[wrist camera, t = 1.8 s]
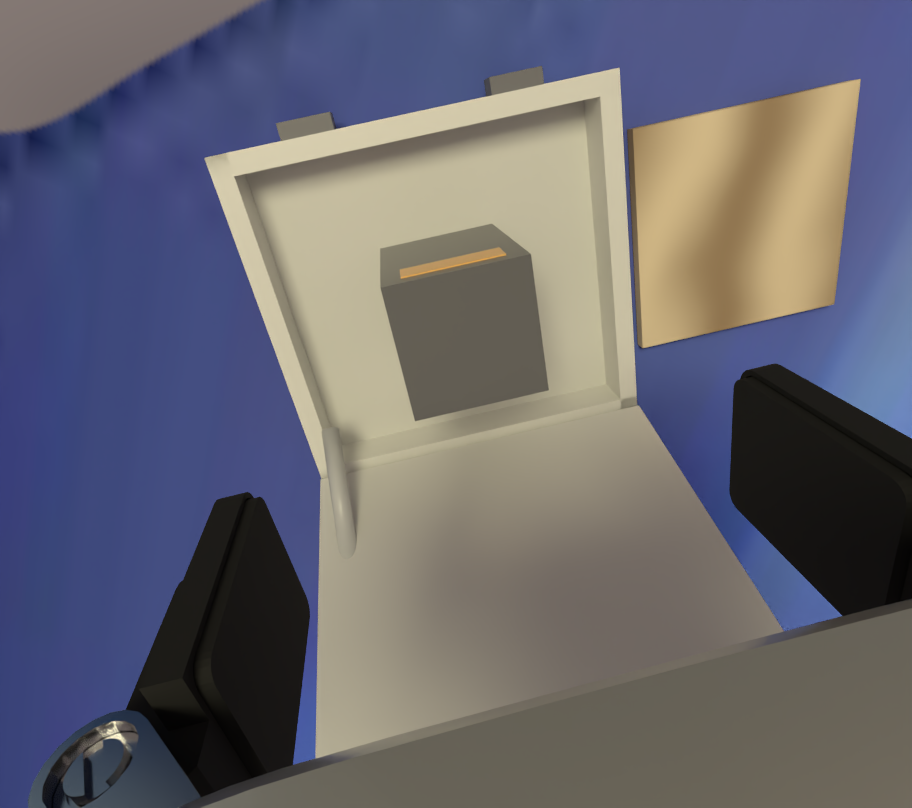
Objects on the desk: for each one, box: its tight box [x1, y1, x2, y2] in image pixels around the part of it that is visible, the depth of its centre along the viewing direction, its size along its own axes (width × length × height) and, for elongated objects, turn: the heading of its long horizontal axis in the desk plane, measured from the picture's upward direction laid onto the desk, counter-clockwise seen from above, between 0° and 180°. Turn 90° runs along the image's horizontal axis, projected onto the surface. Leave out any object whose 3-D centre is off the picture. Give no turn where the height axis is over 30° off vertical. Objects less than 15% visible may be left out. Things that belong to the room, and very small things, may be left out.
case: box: [205, 66, 784, 758], centre depth 20 cm, size 16×19×14 cm
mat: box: [627, 79, 861, 348], centre depth 26 cm, size 10×10×1 cm
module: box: [380, 224, 549, 421], centre depth 22 cm, size 5×5×7 cm
